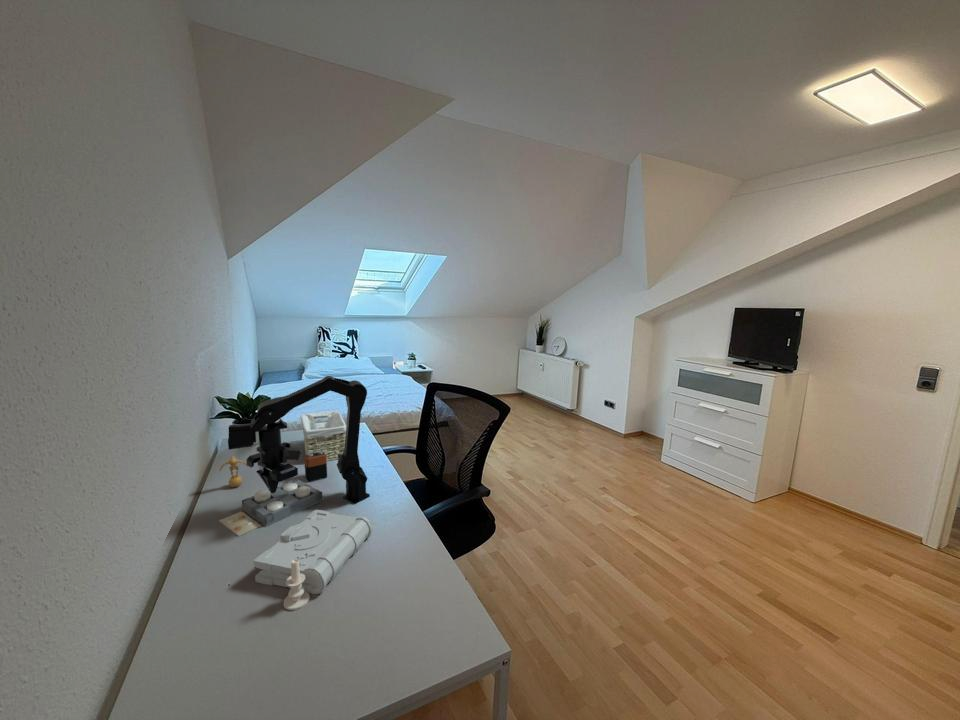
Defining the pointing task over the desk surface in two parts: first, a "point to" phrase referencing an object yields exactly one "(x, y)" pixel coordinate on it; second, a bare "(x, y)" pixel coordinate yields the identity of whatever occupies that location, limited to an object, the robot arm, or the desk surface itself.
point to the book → (313, 550)
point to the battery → (315, 466)
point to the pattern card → (239, 523)
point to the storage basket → (324, 433)
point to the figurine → (236, 479)
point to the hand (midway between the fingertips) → (273, 492)
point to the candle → (296, 589)
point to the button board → (289, 504)
